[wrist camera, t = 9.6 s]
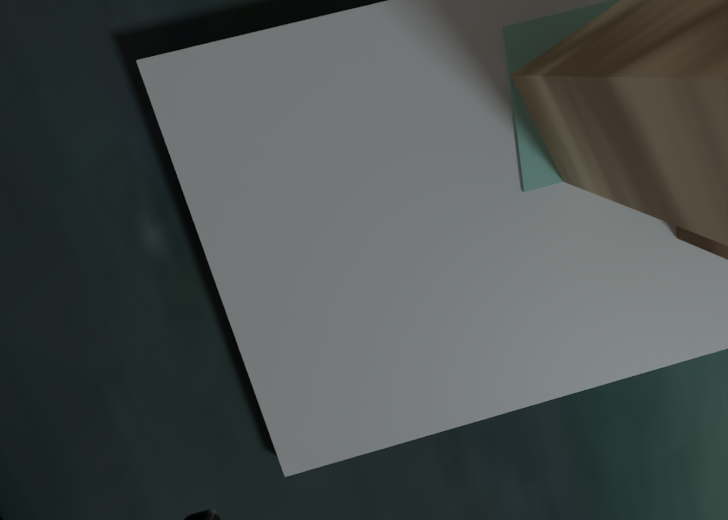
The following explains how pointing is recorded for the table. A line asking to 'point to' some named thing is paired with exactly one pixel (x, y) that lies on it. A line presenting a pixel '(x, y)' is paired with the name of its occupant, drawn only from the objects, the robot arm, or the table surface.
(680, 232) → the cube
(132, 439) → the table surface
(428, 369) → the board
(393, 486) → the table surface
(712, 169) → the pillar
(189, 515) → the robot arm
